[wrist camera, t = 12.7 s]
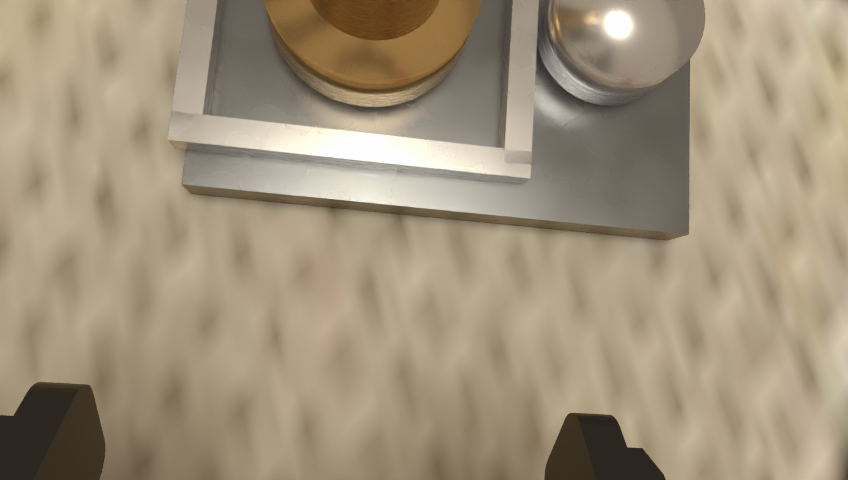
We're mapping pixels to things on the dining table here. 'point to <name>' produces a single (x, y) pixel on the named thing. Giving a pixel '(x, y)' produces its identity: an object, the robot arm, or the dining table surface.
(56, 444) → the robot arm
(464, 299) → the dining table surface
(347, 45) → the brass knob
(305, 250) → the dining table surface
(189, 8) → the carrier
